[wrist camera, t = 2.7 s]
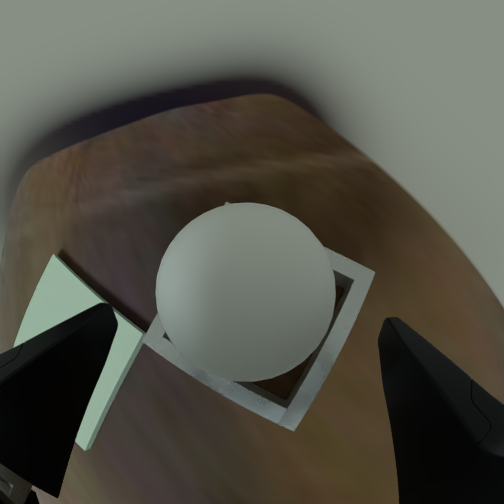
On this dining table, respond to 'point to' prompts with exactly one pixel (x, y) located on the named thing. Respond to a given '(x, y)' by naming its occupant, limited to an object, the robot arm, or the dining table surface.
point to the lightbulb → (245, 292)
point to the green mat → (66, 306)
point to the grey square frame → (317, 369)
